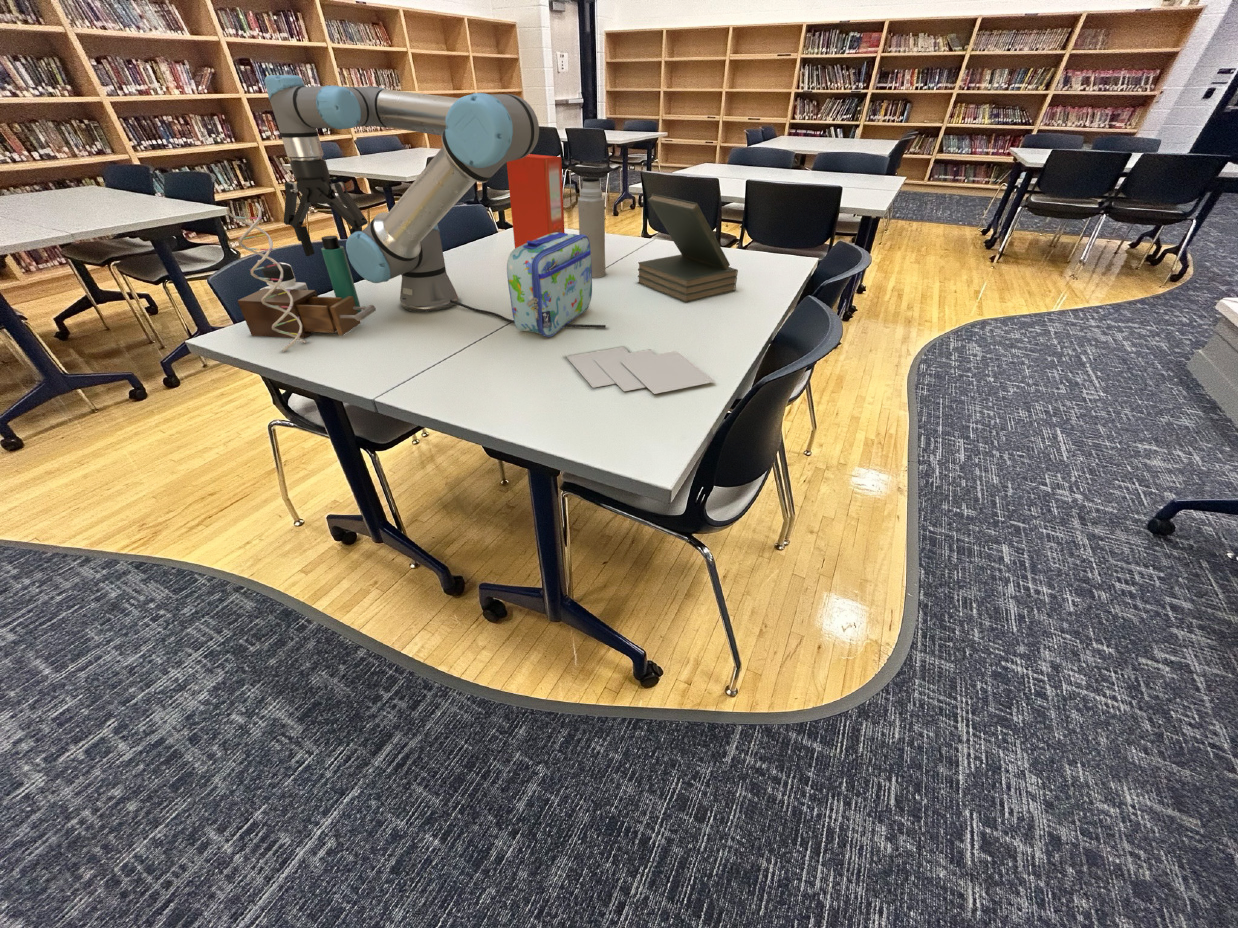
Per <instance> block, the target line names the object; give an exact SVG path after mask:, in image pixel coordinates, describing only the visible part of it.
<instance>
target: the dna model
mask: <svg viewBox="0 0 1238 928" xmlns="http://www.w3.org/2000/svg"><path fill="white" fill-rule="evenodd" d="M255 206H256V208H257V209H258V215H257V217H255V216H254V217H252V216H251V217H246V216H237V215H234V214H233V213H232V212H231V211H230V207H229V206H226V208H225V212H226V214H227V215H228V216H230V217H231V218H233V219H234V220H236V221H237V222H240V223H243V224H245V225H247V226H249V228H248V229H247V230H246V231H244V233H243V234H242V235H241V236H240V237H237V240H238V246H240V248H242V249H244V250H246V251H248V252H251V253H253V254H256V255H258V256H260V257H261V259H258V260H257V262H256V263H255V264H254V265H253V267H252V268H248V270H249V271H250V275H251V276H252V277H253V278H255V279H257V280H259V281H263V282H265V283H266V284H267V283H270V284H272V285H274V286H273V287H272V288H271V289H270V290H269V292H268V293H267V294H266V295H265V296H263V297H262V300H261V302H262V303H263V304H264V305H266V306H268V307H272V308H275V309H278V310H280V311H282V312H285V313H284V314H283V315H282V316H281V317H280V318H279V319H278V320H277V321H276V322H275V323H274V324H273V325H272V329H273V330H274V331H277V332H279V333H282V334H286V335H289V336H292V337H294V338H293V340H291V341H290V342H289V343H288V345H286V346H285V347H284V348H283V349H282V352H283V353H284V352H286V351H287V350H288V349H289V348H290V347H292V346H293V345H294V344H295V343H296V342H297V340H299V341H300V342H302V343H303V344H306V343H307V341H305V340H304V338H299V337H300V335H301V333H302V323H301V321H300V320H299V318H300V317H296V316H295V315H294V314H293V313H291V312H290V310H291V308H292V306H293V298H292V296H291V294H290V290H286V289H285V288H283V287H282V286H280V283H281V281H282V279H283V269H282V268H281V266H280V263H281V262H277V260H275V259H274V258H272V257H271V256H269V255H270V253H271V252H272V251H273V247H274V241H273V239H272V237H271V236H270V234H269V233H268V232H266V231H265V230H264V229H262V228H261V227H259V226H258V224H259V223H260V221H261V219H262V218H263V216H262V215H263V214H262V212H263V211H262V208H261V206H260V204H259V203H258V202H255ZM247 219H248V220H255V221H254V222H253V223H252V222H249V221H247ZM254 229H256V230H258V231H259V232H261V234H257V235H252V236H248V235H249V234H250V233H251V232H252V231H253V230H254ZM263 236H266V238H267V240H268V246H269V248H257V247H248V246H246V245H245V244H244V243H243V240H249V239H253V238H259V237H263ZM259 251H260V252H259ZM262 251H266V252H265V253H262ZM265 260H269V261H270V262H272V263H275V264H274V265H269V266H267V267H271V266H275V265H277V266H278V268H279V270H280V271H281V275H280V279H273V278H272V279H270V278H265V277H261V276H258V275H257V274H256V273H254V271H257V270H262V268H264V266H260V265H261V264H262V263H263V262H264V261H265ZM265 268H266V267H265ZM266 279H267V280H266ZM268 279H270V280H278V282H277V283H274V282H273V281H268ZM277 287H279V288H280V289H282V290H284V291H285V292H283V293H280V294H278V295H281V294H284V293H287V294H288V296H289V297H290V305H289V307H287V306H281V307H284V308H288V309H287V311H286V310H284V309H282V308H279V306H273V305H270V304H267V303H266V302H265V299H267V298H270V297H274V296H277V294H276V295H272V296H269V295H270V294H271V293H272V292H273V291H274V290H275V289H276V288H277ZM268 296H269V297H268ZM288 314H289V315H291V316H293V317H294V318H295V319H292V320H289V321H287V322H291V321H294V320H297V321H298V323H299V325H300V329H299V332H298V334H297V333H291V334H290V333H288V332H284V331H281V330H278V329H276V328H275V327H276V326H279V325H282V324H284V322H283V323H280V324H278V323H279V322H280V321H281V320H283V319H284V318H285V317H286V316H287V315H288ZM285 323H286V322H285ZM295 335H297V336H295Z"/></svg>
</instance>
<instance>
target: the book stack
mask: <svg viewBox="0 0 1238 928" xmlns="http://www.w3.org/2000/svg"><path fill="white" fill-rule="evenodd" d="M647 201H648V202H649V204H650V206H651V207H652V209H653V211H654V212H655V214H656V216H657V217H658V219H659V220H660V223H662V225H663V227H664V228H665V230H666V232H667V233H668V236H669V237H670V238H671V240H672V241H673V243H674V245H675V246H676V248H677V249H678V251H679V252H680V254H675V255H671V256H666V257H660V258H654V259H649V260H643V261H638V262H637V264H639V265H638V268H637V271H638V275H637V278H638V281H637V284H639V285H641V286H643V287H646V288H648V289H651V290H653V291H656V292H658V293H660V294H663V295H666V296H667V297H668V296H669V297H671V298H673V299H675V300H677V301H680V302H683V303H685V304H687V303H690V302H694V301H698V300H703V299H707V298H711V297H715V296H719V295H723V294H727V293H732V292H735V291H736V288H737V283H738V282H737V281H738V273H739V269H737V268H734V267H730V266H731V263H730V262H729V260H728V258H727V256H726V254H725V253H724V251H723V248H722V246H721V244H719V243H720V242H719V241H718V239H717V237H716V236H715V234H714V232H713V230H712V228H711V226H710V224H709V223H708V221H707V219H706V217H705V215H704V214H703V212H702V209H701V208H700V206H699V204H698V202H693V201H688V200H684V199H679V198H675V197H671V196H666V195H660V194H656V193H651V196H650V198H647Z"/></svg>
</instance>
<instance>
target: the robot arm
mask: <svg viewBox="0 0 1238 928" xmlns="http://www.w3.org/2000/svg"><path fill="white" fill-rule="evenodd" d="M264 84H265V88H266V92H267V97H268V101H269V102H270V105H271V106H270V107H271V108H272V112H273V115H274V118H275V121H276V124H277V127H278V130H279V133H280V137H281V140H282V143H283V147H284V151H285V153H286V156H287V158H288V159H290V160H289V165H290V169H291V171H292V175H293V177H294V178H295V180H296V182H294V181H293V180H292V181H291V180H290V181H288V182H287V181H286V182H284V184H283V186H284V190H285V201H284V211H283V212H284V214H283V224H284V225H285V226H290V227H292V229H294V233H295V235H296V239H297V240H298V242H300V243H301V246H302V248H303V252H304V255H305V257H310V256H313V255H315V254H316V253H315V250H314V246H313V244H312V241H311V237H310V234H309V232H308V231H309V230H308V228H307V225H306V226H305V224H304V223H305V222H304V221H305V219H306V217H307V215H308V212H309V210H310V207H311V205H316V204H320V205H327V206H329V207H331V208H332V209H333V210H334V211H335V212H336V213H337V214H338V215H339V216H340V217H341V218H342V219H343V220H344V221H345V222H346V223H347V224H348V225H349V226H350V227H351V228H349V233H350V235H348V237H347V239H346V242H345V252H346V255H347V259H348V262H350V264H351V267H352V268H353V269H354V271H355V272H356V273H357V274H358V275H359V276H360V277H361V278H363V279H364V280H365V281H367V282H371V283H373V284H380V283H387V282H389V281H390V280H392V279H395V278H397V277H399V276H401V282H400V295H399V302H400V306H401V308H402V309H403V310H406V311H409V312H414V313H430V312H438V311H443V310H447V309H449V308H453V307H454V306H455V305H457V306H458V307H461V308H464V309H468V310H470V311H474V312H477V313H481V314H487V315H491V316H494V317H496V318H499V319H501V320H503V321H506V322H507V323H509V324H510V323H511V324H514V325H515V323H514V319H510V318H508V317H505V316H503V315H501V314H499V313H497V312H493V311H490V310H484V309H480V308H476V307H472V306H469V305H467V304H464V303H462V302H459V298H458V293H457V291H456V289H455V287H454V284H453V282H452V281H451V279H450V277H449V275H448V273H447V268H446V262H445V257H444V251H443V245H442V239H441V235H440V233H441V231H440V229H439V224H438V223H440V221H441V220H442V219H443V218H444V217H445V216H446V215H447V214H448V212H450V210H451V209H452V208H453V207H455V205H456V204H457V203H458V202H459V201H460V200H461V199H462V198H463V196H464V195H465V194H466V193H467V192H468V191H469V190H470V189H471V188H472V187H473V186H474V185H475V183H481V184H484V183H487V182H489V180H490V179H491V178H492V177H493V176H494V175H495V174H496V173H497V172H498V171H499V170H500V169H501V168H502V167H503V165H504V166H505V164H507V162H508V161H513V160H518V159H521V158H524V157H526V156H527V155H529V154H532V153H533V150H534V149H535V147H536V146H537V143H538V141H539V135H540V124H539V120H538V117H537V115H536V113H535V110H534V108H532V106H531V105H530V103H529V102H527V101H526V100H525V99H524V98H522V97H520V96H519V95H515V94H511V93H497V94H496V93H495V94H493V93H492V94H488V93H484V92H473V93H471V94H468V95H464V96H461V97H454V96H453V97H452V96H445V95H438V94H437V95H436V94H427V93H420V92H413V91H412V92H411V91H403V90H396V89H395V90H394V89H387V88H383V87H380V86H373V85H372V86H371V85H370V86H369V85H367V86H341V85H334V84H333V85H330V84H329V85H317V86H316V85H315V86H314V85H313V86H306V85H305V83H304V80H303V78H302V77H301V76H300V75H297V74H296V75H294V74H293V75H292V74H279V75H277V74H271V75H267V76H265V78H264ZM360 127H361V128H362V127H376V128H377V127H378V128H383V129H395V130H401V131H407V132H415V133H420V134H421V133H422V134H429V135H436V136H440V137H441V143H442V147H441V148H440V149H439V151H438V152H437V153H436V154H435V155H434V157H432V159H431V160H430V161H429V163H428V164H427V165H426V166H425V168H424V169H423V170H422V171H421V172H420V173H419V175H418V176H417V177H416V179H415V180H414V181H413V182H412V183H411V184H410V186H409V187H407V189H406V191H405V192H404V193H403V194H402V196H401V197H400V198H398V200H397V202H396V203H395V204H394V205H393V207H391V209H390V210H389V211H387V212H386V211H384V212H383V211H382V212H379V213H377V214H376V215H375V216H374V218H373V219H372V220H371V221H370V222H369V220H368V219H367V218H366V217H365V215H364V214H363V212H362V211H361V209H360V208H359V206H358V205H357V203H356V202H355V200H354V199H353V197H352V196H351V194H349V192H348V189H347V186H346V184H345V182H343V181H339V182H335V183H332V181H331V178H330V171H329V168H328V164H327V161H326V160H325V158H323V157H324V155H325V154H324V151H323V147H322V143H321V140H320V136H319V132H318V129H336V130H349V129H353V128H360ZM298 192H299V193H300V194H301V196H300V199H299V204H298V207H297V201H298ZM335 193H336V194H337V195H338V197H339V198H338V197H337V196H336V195H335ZM340 200H341V201H340ZM367 224H368V225H367ZM364 226H366V227H364ZM362 227H364V229H362ZM606 326H607V325H606V324H585V323H584V324H583V323H582V324H581V323H579V324H577V323H576V324H575V323H568V324H566V325H565V326H564V327H563V328H591V329H596V328H597V329H606Z"/></svg>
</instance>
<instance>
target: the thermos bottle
mask: <svg viewBox="0 0 1238 928" xmlns="http://www.w3.org/2000/svg"><path fill="white" fill-rule="evenodd" d="M599 182H600V178H599V177H596V176H586V177H585V176H584V177H582V188H581V189H580V190H579V197H578V198H577V208H578V209H577V210H578V212H577V213H578V235H579V234H584V235H586V236H587V237H588V239H589V243H590V251H591V264H592V279H597V278H602V277H604V276H606V222H605V221H606V220H605V219H606V218H605V217H606V216H605V214H606V213H605V210H606V209H605V198H604V197H603V190H602V189H601V188H600V183H599Z"/></svg>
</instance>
